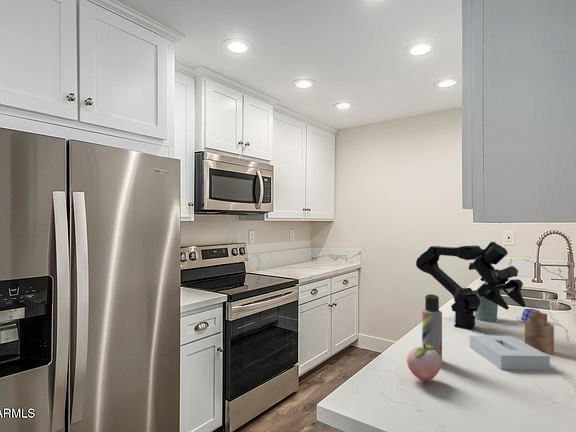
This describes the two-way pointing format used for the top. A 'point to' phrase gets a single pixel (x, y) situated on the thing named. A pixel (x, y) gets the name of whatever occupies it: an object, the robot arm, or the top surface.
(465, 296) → the robot arm
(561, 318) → the top surface
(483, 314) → the teal canister
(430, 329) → the lotion bottle
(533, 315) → the angular brown block
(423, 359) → the decorative fruit
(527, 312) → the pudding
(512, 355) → the flat gray panel
